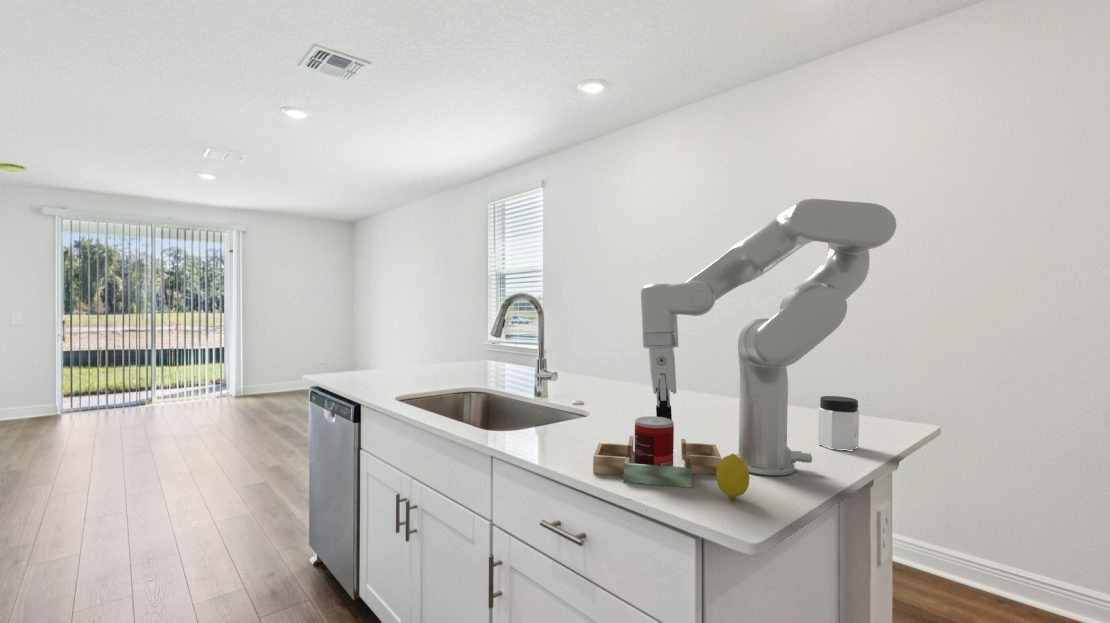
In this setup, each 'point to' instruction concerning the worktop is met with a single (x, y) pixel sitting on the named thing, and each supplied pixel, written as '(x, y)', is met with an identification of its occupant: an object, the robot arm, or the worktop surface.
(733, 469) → the lemon
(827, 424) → the jar
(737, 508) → the worktop surface
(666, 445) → the canned food
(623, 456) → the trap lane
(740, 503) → the worktop surface
